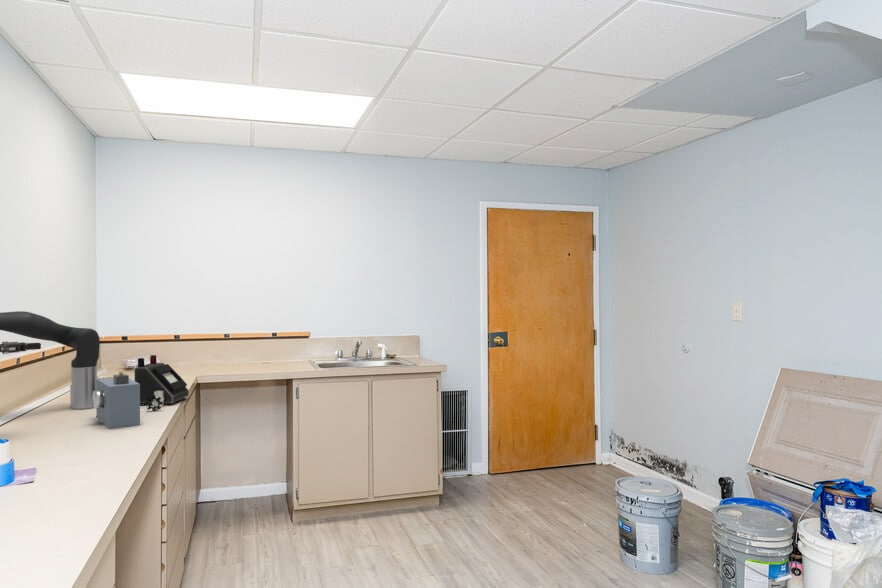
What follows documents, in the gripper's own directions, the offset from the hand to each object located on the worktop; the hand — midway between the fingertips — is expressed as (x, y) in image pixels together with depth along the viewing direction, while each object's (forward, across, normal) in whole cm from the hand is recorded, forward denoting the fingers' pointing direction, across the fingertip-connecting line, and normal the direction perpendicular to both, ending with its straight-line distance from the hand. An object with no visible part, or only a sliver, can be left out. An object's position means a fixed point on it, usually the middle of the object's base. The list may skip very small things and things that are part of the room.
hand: (40, 345), depth 204 cm
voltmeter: (+47, +28, +30) cm, 63 cm away
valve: (+41, +15, +30) cm, 54 cm away
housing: (+24, 0, +30) cm, 38 cm away
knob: (+21, 0, +24) cm, 32 cm away
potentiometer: (+24, -6, +15) cm, 29 cm away
